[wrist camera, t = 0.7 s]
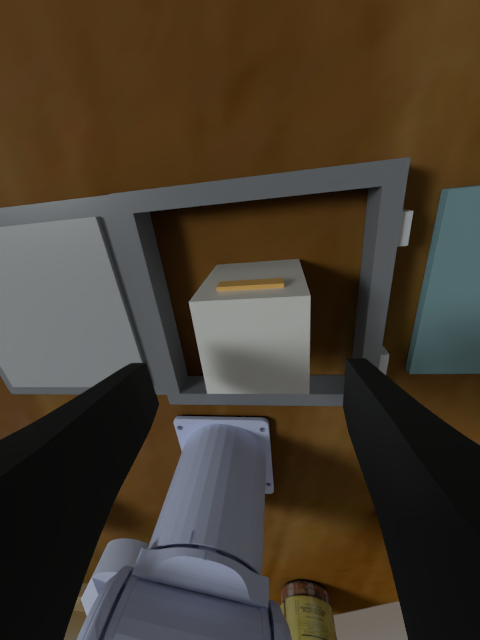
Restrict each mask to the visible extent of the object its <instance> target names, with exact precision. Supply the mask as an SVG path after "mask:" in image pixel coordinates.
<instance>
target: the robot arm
mask: <svg viewBox="0 0 480 640" xmlns="http://www.w3.org/2000/svg"><path fill="white" fill-rule="evenodd" d="M158 406H159V402H158V399H157V396H156V393H155V389H154V386H153V383H152V380H151V377H150V373H149V370H148V367H147V364H146V363H130V364H128V365H126V366H125V367H123V368H121V369H119V370H118V371H116V372H115V373H113V374H111V375H110V376H108V377H107V378H105V379H104V380H102V381H100V382H99V383H97V384H96V385H94V386H93V387H91V388H89V389H88V390H86V391H85V392H83V393H82V394H80V395H79V396H77V397H75V398H74V399H72V400H70V401H69V402H67V403H65V404H64V405H62V406H60V407H59V408H57V409H56V410H54V411H52V412H51V413H49V414H47V415H46V416H44V417H42V418H40V419H39V420H37V421H35V422H33V423H32V424H30V425H28V426H26V427H24V428H22V429H20V430H19V431H17V432H15V433H13V434H11V435H9V436H7V437H5V438H3V439H1V440H0V640H64V637H65V633H66V630H67V627H68V624H69V621H70V618H71V615H72V612H73V609H74V606H75V603H76V600H77V597H78V595H79V592H80V589H81V586H82V583H83V580H84V577H85V574H86V572H87V569H88V566H89V564H90V561H91V558H92V556H93V553H94V550H95V548H96V545H97V542H98V540H99V537H100V535H101V532H102V530H103V527H104V525H105V522H106V520H107V517H108V515H109V512H110V510H111V507H112V505H113V503H114V501H115V498H116V496H117V494H118V492H119V490H120V488H121V486H122V484H123V482H124V480H125V478H126V476H127V474H128V472H129V470H130V468H131V467H132V465H133V463H134V461H135V459H136V457H137V455H138V453H139V451H140V449H141V447H142V445H143V443H144V441H145V439H146V437H147V435H148V433H149V431H150V429H151V426H152V423H153V421H154V418H155V415H156V412H157V409H158ZM343 409H344V413H345V418H346V423H347V427H348V431H349V435H350V438H351V441H352V444H353V447H354V450H355V452H356V455H357V458H358V461H359V464H360V467H361V470H362V472H363V475H364V478H365V481H366V484H367V487H368V489H369V492H370V495H371V498H372V501H373V504H374V507H375V510H376V513H377V516H378V520H379V523H380V527H381V530H382V534H383V538H384V542H385V546H386V550H387V554H388V558H389V561H390V565H391V569H392V574H393V578H394V582H395V586H396V590H397V594H398V598H399V602H400V606H401V610H402V614H403V619H404V623H405V628H406V632H407V636H408V640H480V445H478V444H477V443H475V442H474V441H472V440H471V439H469V438H467V437H466V436H465V435H463V434H462V433H460V432H459V431H457V430H456V429H454V428H453V427H451V426H450V425H449V424H447V423H446V422H445V421H443V420H442V419H440V418H439V417H438V416H436V415H435V414H433V413H432V412H431V411H429V410H428V409H427V408H425V407H424V406H423V405H422V404H420V403H419V402H418V401H416V400H415V399H414V398H413V397H411V396H410V395H409V394H408V393H406V392H405V391H404V390H403V389H401V388H400V387H399V386H398V385H397V384H395V383H394V382H393V381H392V380H391V379H390V378H388V377H387V376H386V375H385V374H384V373H382V372H381V371H380V370H379V369H378V368H377V367H376V366H374V365H373V364H372V363H371V362H370V361H368V360H367V359H366V358H354V359H346V370H345V383H344V396H343ZM174 426H175V429H176V433H177V436H178V440H179V443H180V447H181V450H182V454H181V456H180V459H179V462H178V465H177V468H176V471H175V473H174V476H173V479H172V482H171V485H170V487H169V490H168V493H167V496H166V499H165V502H164V504H163V507H162V510H161V513H160V516H159V518H158V521H157V524H156V527H155V530H154V532H153V535H152V538H151V541H150V544H149V547H148V549H147V548H141V550H140V553H139V555H138V558H137V561H136V563H135V566H134V567H130V566H124V567H122V568H121V569H120V570H119V571H118V573H117V574H115V575H114V576H113V577H111V578H110V579H109V580H108V581H107V582H106V584H105V585H104V587H103V588H102V590H101V591H100V593H99V595H98V596H97V598H96V600H95V602H94V604H93V606H92V608H91V610H90V612H89V614H88V616H87V618H86V620H85V622H84V624H83V626H82V629H81V631H80V633H79V635H78V638H77V640H292V637H291V633H290V629H289V625H288V623H287V621H286V619H285V617H284V615H283V613H282V610H281V608H280V605H279V604H278V603H277V602H276V601H273V600H269V578H268V577H266V576H262V558H263V532H264V505H265V494H272V493H273V492H274V482H273V469H272V456H271V443H270V430H269V421H268V420H267V419H266V418H260V417H205V416H177V417H175V419H174Z"/></svg>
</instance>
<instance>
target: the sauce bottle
mask: <svg viewBox="0 0 480 640" xmlns="http://www.w3.org/2000/svg"><path fill="white" fill-rule="evenodd" d="M281 599H282V604H281V607H280V608H281V610H282V613H283V615H284V617H285V619H286V621H287V623H288V625H289V629H290V633H291V637H292V640H337V638H336V632H335V625H334V618H333V611H332V608H331V604H330V598H329V595H328V593H327V591H326V590H325V589H323V588H322V587H321V586H320V585H317V584H315V583H312V582H308V581H304V580H298V581H294V582H290V583H287V584H285V585H284V586H283V587H282V594H281Z"/></svg>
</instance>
